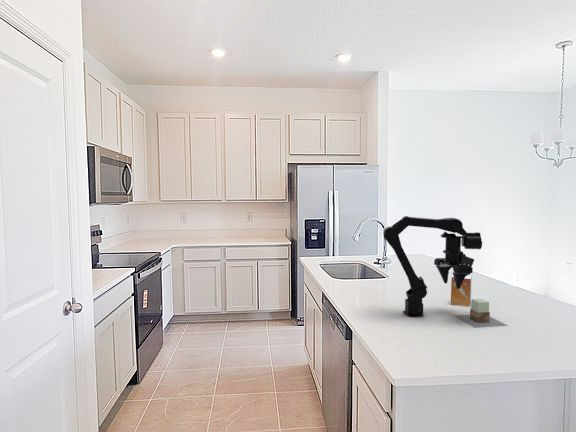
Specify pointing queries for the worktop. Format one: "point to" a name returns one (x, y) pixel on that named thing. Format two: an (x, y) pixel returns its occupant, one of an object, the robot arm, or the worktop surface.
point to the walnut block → (479, 316)
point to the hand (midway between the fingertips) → (451, 285)
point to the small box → (461, 292)
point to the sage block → (479, 305)
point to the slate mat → (474, 324)
